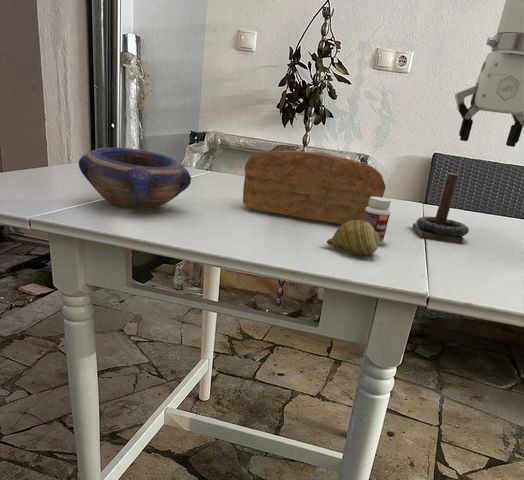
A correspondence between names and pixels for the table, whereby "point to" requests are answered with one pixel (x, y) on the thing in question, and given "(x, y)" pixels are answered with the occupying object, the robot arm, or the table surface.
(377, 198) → the pill bottle
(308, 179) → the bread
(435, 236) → the stand
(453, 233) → the ring
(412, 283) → the table surface
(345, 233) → the seashell
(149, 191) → the bowl
